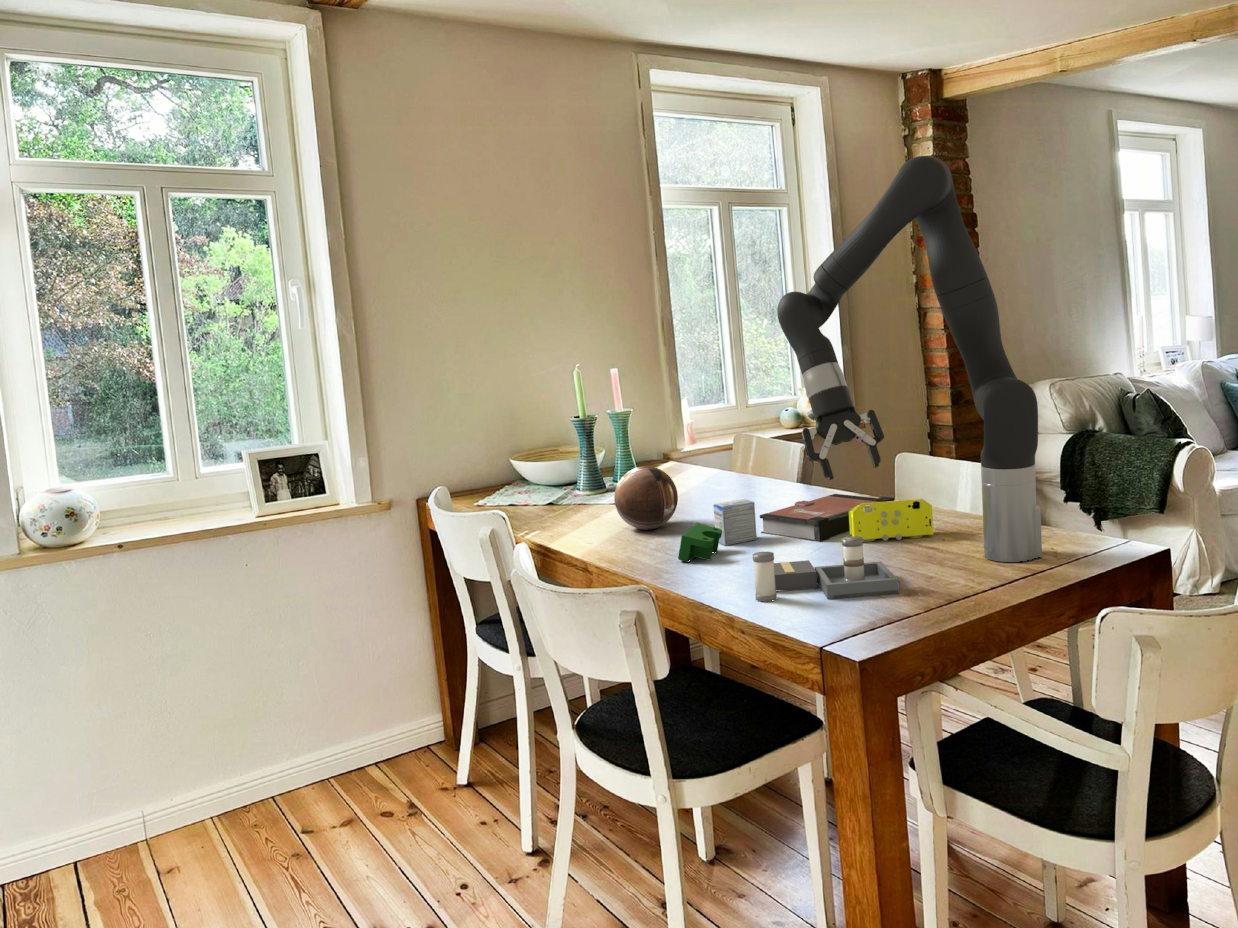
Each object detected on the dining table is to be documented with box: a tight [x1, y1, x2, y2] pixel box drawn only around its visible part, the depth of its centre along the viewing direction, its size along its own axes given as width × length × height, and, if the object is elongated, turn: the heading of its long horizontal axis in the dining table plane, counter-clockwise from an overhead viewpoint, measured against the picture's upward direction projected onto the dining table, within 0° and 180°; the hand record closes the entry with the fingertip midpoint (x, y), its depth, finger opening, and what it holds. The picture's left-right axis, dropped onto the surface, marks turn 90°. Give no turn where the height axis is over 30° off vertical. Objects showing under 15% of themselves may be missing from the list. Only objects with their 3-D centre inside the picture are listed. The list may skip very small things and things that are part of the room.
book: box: [759, 493, 895, 543], centre depth 221 cm, size 26×18×5 cm
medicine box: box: [713, 498, 758, 547], centre depth 213 cm, size 8×4×9 cm, turn 111°
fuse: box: [752, 551, 778, 602], centre depth 170 cm, size 4×4×8 cm
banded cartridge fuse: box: [841, 535, 865, 582], centre depth 172 cm, size 4×4×8 cm
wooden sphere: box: [613, 465, 679, 531], centre depth 233 cm, size 15×15×15 cm
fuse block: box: [774, 559, 818, 591], centre depth 178 cm, size 9×8×3 cm
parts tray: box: [813, 561, 900, 600], centre depth 173 cm, size 12×12×2 cm
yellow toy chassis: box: [849, 498, 934, 543], centre depth 204 cm, size 16×6×8 cm, turn 87°
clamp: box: [677, 522, 722, 563], centre depth 203 cm, size 12×6×9 cm
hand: (854, 473), depth 182 cm, fingers open, 8 cm apart
